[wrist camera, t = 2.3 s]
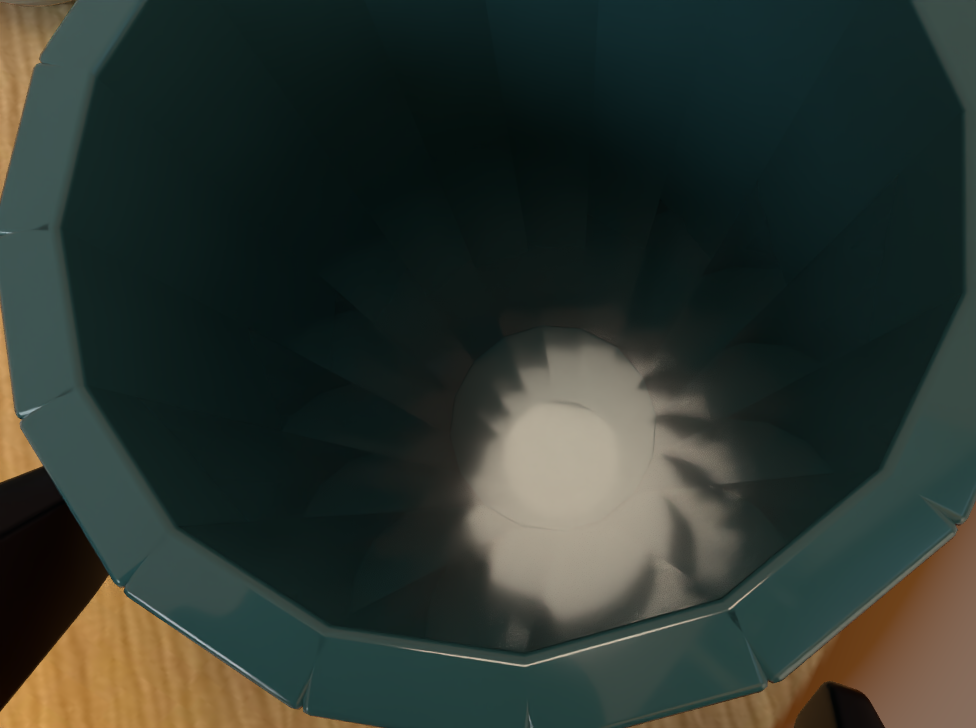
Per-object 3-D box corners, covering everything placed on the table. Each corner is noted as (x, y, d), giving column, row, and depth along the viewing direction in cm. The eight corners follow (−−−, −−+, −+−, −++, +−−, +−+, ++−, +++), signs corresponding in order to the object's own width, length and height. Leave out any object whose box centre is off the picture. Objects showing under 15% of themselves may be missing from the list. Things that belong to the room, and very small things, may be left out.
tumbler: (602, 591, 19) (745, 1022, 3) (397, 473, 20) (-191, 385, 5) (711, 380, 20) (1244, -76, 4) (506, 278, 21) (318, -365, 5)
